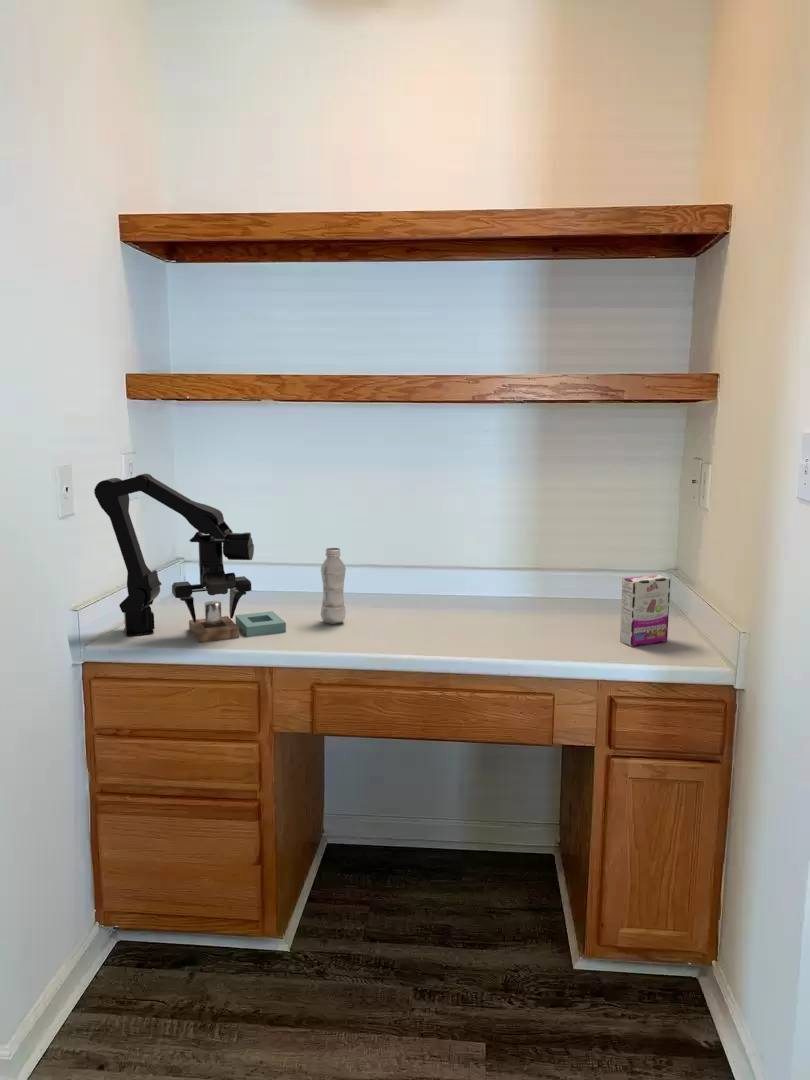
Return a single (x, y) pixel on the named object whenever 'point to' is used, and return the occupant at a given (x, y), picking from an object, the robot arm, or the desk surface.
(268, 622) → the block
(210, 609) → the steel peg
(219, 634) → the socket block
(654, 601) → the candy bar box
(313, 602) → the desk surface
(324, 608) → the plastic bottle
